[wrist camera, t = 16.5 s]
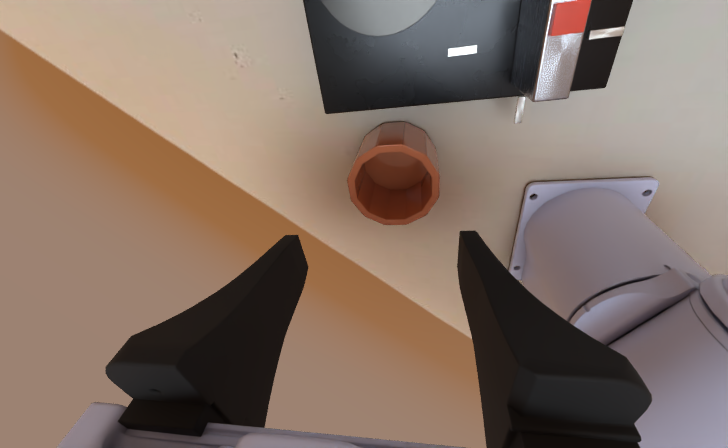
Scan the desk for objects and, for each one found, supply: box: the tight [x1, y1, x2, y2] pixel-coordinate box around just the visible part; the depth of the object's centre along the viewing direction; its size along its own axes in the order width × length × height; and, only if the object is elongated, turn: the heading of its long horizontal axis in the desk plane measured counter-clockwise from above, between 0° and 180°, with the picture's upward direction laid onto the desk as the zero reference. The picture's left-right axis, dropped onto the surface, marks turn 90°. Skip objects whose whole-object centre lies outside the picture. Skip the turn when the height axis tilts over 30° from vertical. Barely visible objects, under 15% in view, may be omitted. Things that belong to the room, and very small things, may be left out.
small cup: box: [347, 122, 440, 225], centre depth 20 cm, size 6×6×4 cm
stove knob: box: [511, 0, 592, 102], centre depth 13 cm, size 4×1×4 cm, turn 8°
